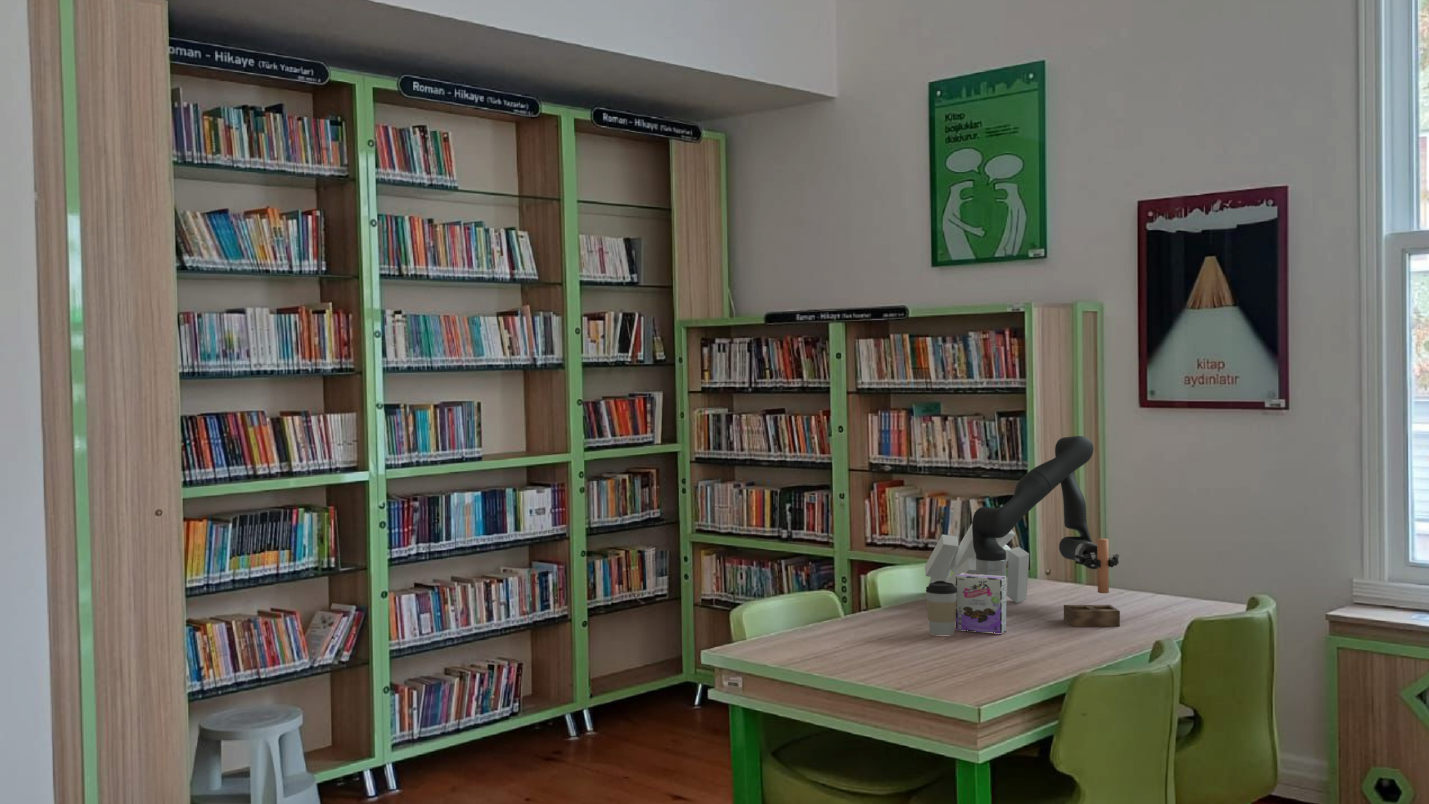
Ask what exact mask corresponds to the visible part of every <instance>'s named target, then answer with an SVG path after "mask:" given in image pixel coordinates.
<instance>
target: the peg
mask: <svg viewBox="0 0 1429 804" xmlns="http://www.w3.org/2000/svg"><path fill="white" fill-rule="evenodd" d="M1096 545H1097V559H1099V560H1100V561H1101V567H1098V569H1097V593H1098V594H1109V593H1110V592H1109V591H1110V577H1109V576H1110V573H1109V571H1110V570H1109V569H1110V567H1109V555H1110V554H1109V546H1110V545H1109V538H1097V544H1096Z"/></svg>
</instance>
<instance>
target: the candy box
mask: <svg viewBox="0 0 1429 804" xmlns="http://www.w3.org/2000/svg"><path fill="white" fill-rule="evenodd" d="M956 587H957V591H958V592H957V597H956V600H957V606H956V620H955V630H956V629H957V630H966V631H965V632H967V630H968V631H976V632H993V633H994V632H995V633H1003V632H1005V631H1006V632H1007V609H1006V607H1007V575H1006V576H995V575H981V574H966V573H960V574H958V575H956ZM976 632H975V633H976ZM1006 632H1005V633H1006ZM1003 634H1004V633H1003Z"/></svg>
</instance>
